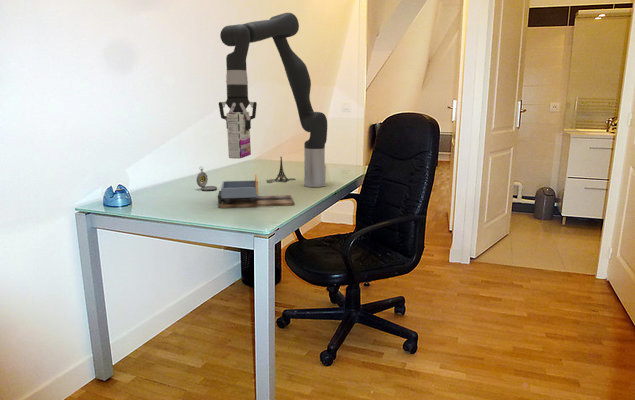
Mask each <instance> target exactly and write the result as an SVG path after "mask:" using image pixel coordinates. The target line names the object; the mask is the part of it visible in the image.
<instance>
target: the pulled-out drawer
mask: <svg viewBox="0 0 635 400" xmlns="http://www.w3.org/2000/svg"><path fill="white" fill-rule="evenodd" d="M254 179H255V180H225V181H224V180H223V181H222V183H221V187H220V191H221V198H225V199H224V200H225V202H226V203H229V202H231V198H247V197H249V200H250V202H254V201H255V200H256V198H255V197H258V196H259V180H258V175H257V174H256V173H255V174H254Z"/></svg>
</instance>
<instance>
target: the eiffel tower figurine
mask: <svg viewBox="0 0 635 400" xmlns="http://www.w3.org/2000/svg"><path fill="white" fill-rule="evenodd" d="M279 165H280V166H279V171H278V174H277V177H276V178H273V179H272V178H271V179H266V180H265V182H267V183H268V184H272V183H274V182H276V183H287V182H290V181H296V180H297V179H296V178H287V176H286V174H285V172H284V167H283V157H282V156H280V164H279Z"/></svg>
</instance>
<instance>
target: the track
mask: <svg viewBox="0 0 635 400" xmlns="http://www.w3.org/2000/svg"><path fill="white" fill-rule="evenodd" d="M255 198H256V200H255V201H254V202H250V200H249V197H247V198H231V202H229V203H226V202H225V200H224V199H225V198H221V190H218V195H217V208H218V209H224V208H226V209H227V208H228V209H229V208H230V209H231V208H251V207H252V208H254V207H255V208H257V207H260V208H261V207H282V206H283V207H284V206H286V207H288V206H291V207H292V206H295V205H296V203H295V201H294V199H293V196H292V195H290V194H284V195H277V194H276V195H258V197H255Z"/></svg>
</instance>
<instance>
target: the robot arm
mask: <svg viewBox="0 0 635 400" xmlns="http://www.w3.org/2000/svg"><path fill="white" fill-rule="evenodd" d="M299 28H300V24H299V19H298V17H297V15H295V14H294V13H292V12H284V13H280V14H277V15H274V16H271V17H270V18H269V19H263V20H256V21H250V22H246V23H241V24H233V25H232V24H231V25H230V24H229V25H226V26H223V28H222V29H221V30H220V34H219V35H220V41H221V42H222V43H223V44H224V45H225V46H227V47H234V49H233V51H232V52H230V53H228V54H227V55H226V56H225V57H226V58H225V59H226V60H225V63H226V74H225V77H226V78H225V82H226V100H225V101H222V102H221V101H219V102H218V108H219V114H220V115H219V116H220V118H221V119H223V120H225V121H226V122H225V123H226V126H227V115H225V112H224V109H225V107H226V106H227V107H228V108H229V110H228V113H232V112H244V114H245V116H246V118H247V131H249V129H250V130H251V128H252V127H251V126H252V125H251V123H252V122H251V121H252V120H253V119H255V118H256V117H257V116H256V115H257V107H258V106H257V101H250V100H249V90H248V88H249V87H248V85H249V84H248V83H249V82H248V81H249V80H248V72H247V58H248V52H249V47H250V44H252V43H256V42H260V41H264V40H268V39H271V38H272V40H273V43H274V45H275V47H276V49H277V52H278V54H279V56H280V59H281V62H282V65H283V67H284V71H285V74H286V78H287V80H288V81H287V82H288V84H289V86H290V89H291V92H292V95H293V99H294V101H295V105H296V109H297V113H298V116H299V122H300V125H301V127H302V129H303V130H304V131H305V132H307V133H309V139H308V140H306V141H304V142H303V143H304V145H303V147H304V152H303V153H304V154H303V156H304V159H303V160H304V162H303V164H304V182H303V183H304V186H305V187H308V188H321V187H326V178H327V176H326V168H327V167H326V165H325V163H326V157H325V155H326V152H325V151H326V147H325V146H326V143H327V140H328V139H327V138H328V119H327V116H326V114H325V113H323V112H321V111H314V108H313V106H312V102H311V97H310V96H311V88H312V87H311V86H312V83H311V82H312V81H311V80H312V79H311V76H310V73H309V70H308V67H307V65H306V64H305V62H304V61H303V59H302V58H300V57H299V56H298V55H297V54H296V53H295V52H294V51H293V49H292V48H291V46H290V44H289V41H288V39H287V38H291V37H294V36H295V35H297V33H298V32H299ZM249 105H250V108H252V113H251V115H250V113H249V114H248V112H249V111H247V108H248V107H249Z"/></svg>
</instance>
